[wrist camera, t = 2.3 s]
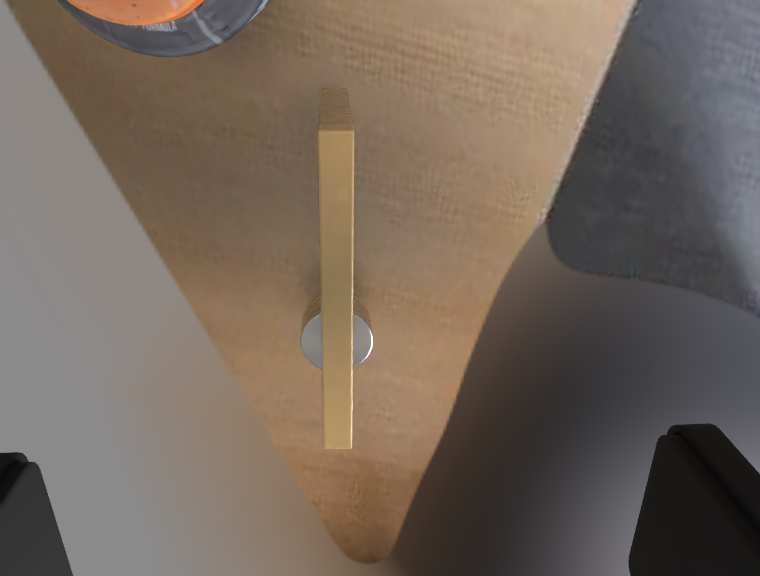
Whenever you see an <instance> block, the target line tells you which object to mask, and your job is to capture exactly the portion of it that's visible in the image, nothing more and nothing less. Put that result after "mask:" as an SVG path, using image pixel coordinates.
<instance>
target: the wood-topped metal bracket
mask: <svg viewBox="0 0 760 576" xmlns="http://www.w3.org/2000/svg"><path fill="white" fill-rule="evenodd" d="M317 135H318V187H319V240H320V292H321V294H320V295H318V296H316V297H315V298H314V299H312V300H311V301H310V302H309V304H308V305H307V306H306V308H305V310H304V313H303V317H302V327H301V338H300V343H301V348H302V351H303V354H304V355H305V357H306V358H307V359H308V360H309V361H310V362H311V363H312V364H313V365H314V366H316V367H318V368H320V369H322V397H323V447H324V449H350V448H352V394H353V368H355V367H356V366H358V365H360V364H361V363H362V362H363V361H364V360H365V359H366V358H367V356H368V355H369V353H370V351H371V348H372V344H373V336H372V327H371V319H370V313H369V310H368V308H367V306H366V305H365V304H364V302H363V301H362V300H361V299H360V298H358V297H357V296H355V295H353V248H354V128H353V121H352V115H351V108H350V102H349V96H348V90H347V89H346V88H323V89H322V97H321V106H320V114H319V123H318V132H317Z"/></svg>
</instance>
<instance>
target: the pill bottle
mask: <svg viewBox="0 0 760 576" xmlns="http://www.w3.org/2000/svg"><path fill="white" fill-rule="evenodd" d="M58 1H59V3H60V4H61V5H62V6H63V7H64V8H65V9H66V10H67V11H68V12H69V13H70V14H71V15H72V16H73V17H75V18H76V19H77V20H78V21H79V22H80V23H82V24H83V25H84V26H86V27H87V28H88V29H89V30H91V31H92V32H94V33H96V34H97V35H99V36H100V37H102V38H104V39H105V40H107V41H109V42H111V43H113V44H116V45H118V46H120V47H123V48H125V49H128V50H131V51H134V52H137V53H141V54H146V55H152V56H159V57H180V56H186V55H193V54H198V53H201V52H203V51H207V50H210V49H212V48H214V47H216V46H218V45H220V44H222V43H223V42H225V41H227V40H229V39H231V38H232V37H233V36H234V35H235V34H236V33H238V32H239V31H240V30H242V28H243V27H244V26H246V25H247V24H248V23H249V22H250V21H251V20H252V19H253V18H254V17H255V16H256V15H257V14H258V13H259V12H260V11H261V10H262V9H263V8H264V7H265V6H266V5H267V4H268V2H269V1H270V0H58Z"/></svg>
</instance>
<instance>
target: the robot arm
mask: <svg viewBox="0 0 760 576" xmlns="http://www.w3.org/2000/svg"><path fill="white" fill-rule="evenodd" d="M629 570H630V575H631V576H760V474H759V473H758V472H757V471H756V470H755V468H754V467H753V466H752V465H751V464H750V463H749V462H748V460H747V459H746V458H745V457H744V456H743V455H742V454H741V453H740V452H739V450H738V449H737V448H736V447H735V446H734V445H733V444H732V443H731V441H730V440H729V439H728V438H727V437H726V436H725V435H724V434H723V433H722V431H721V430H720V429H719V428H717V427H716V426H715V425H712V424H687V425H674V426H672V427H671V428H670V429H669V430H668V432H667V435H662V436H660V438H659V439H658V442H657V445H656V449H655V453H654V457H653V461H652V465H651V469H650V473H649V477H648V481H647V485H646V489H645V494H644V498H643V502H642V506H641V510H640V514H639V518H638V522H637V526H636V530H635V534H634V539H633V542H632V546H631V551H630V554H629ZM0 576H73V574H72V571H71V568H70V564H69V561H68V558H67V555H66V551H65V548H64V545H63V542H62V538H61V535H60V532H59V529H58V526H57V523H56V519H55V516H54V513H53V510H52V506H51V503H50V500H49V497H48V493H47V490H46V487H45V484H44V480H43V477H42V474H41V471H40V468H39V466H38V465H37V464H36V463H35V462H29V461H28V460H27V457H26V456H25V455H24V454H23V453H17V452H16V453H15V452H14V453H0Z"/></svg>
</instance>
